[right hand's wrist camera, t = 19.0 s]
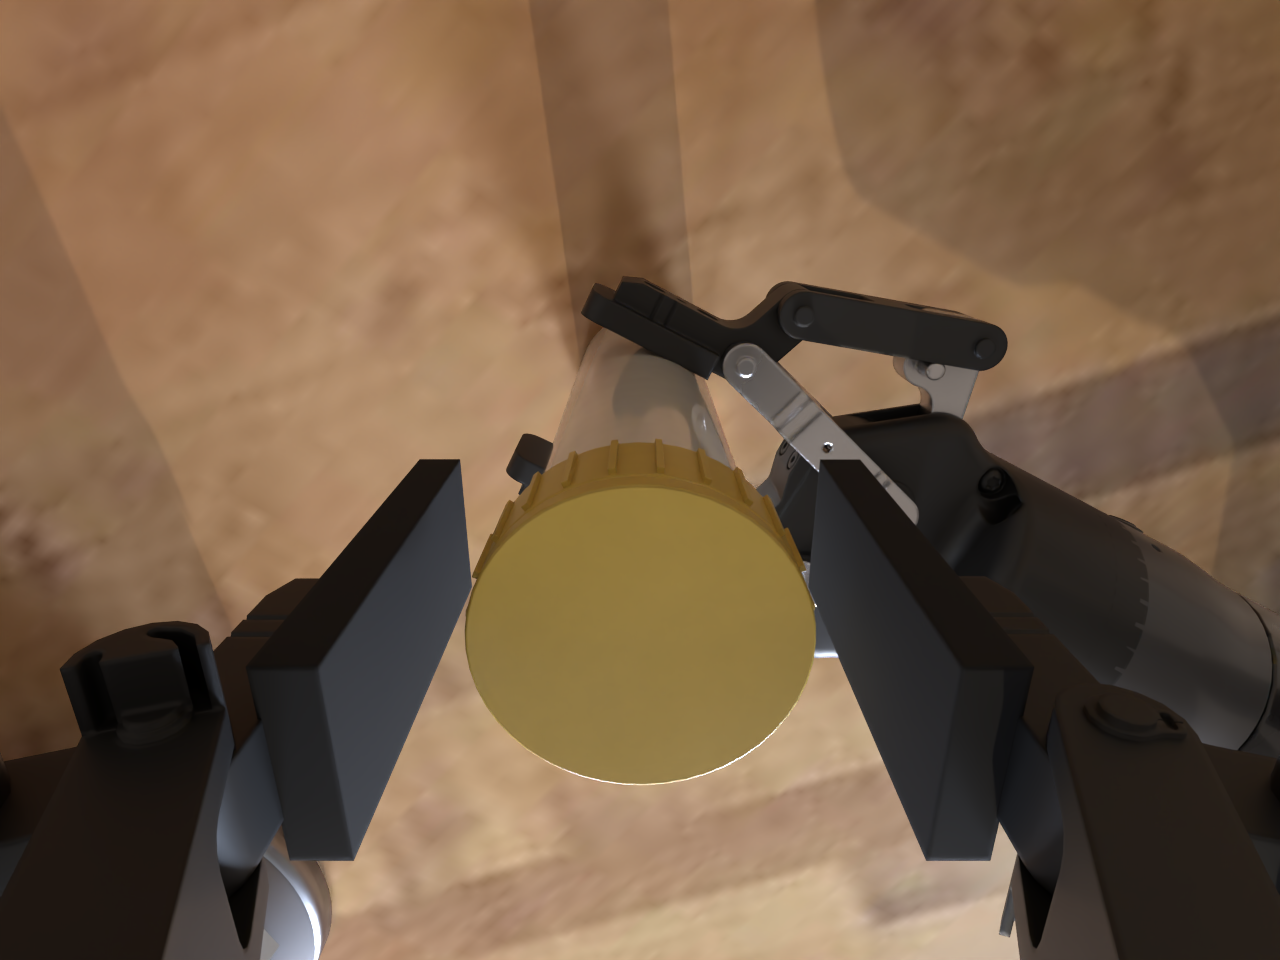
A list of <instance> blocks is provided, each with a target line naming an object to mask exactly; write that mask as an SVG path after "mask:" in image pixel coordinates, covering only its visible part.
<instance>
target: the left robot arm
mask: <svg viewBox="0 0 1280 960" xmlns="http://www.w3.org/2000/svg"><path fill="white" fill-rule="evenodd" d="M581 313H582V314H583V315H584V316H585V317H586V318H588V319H589V320H591V321H593V322H595V323H596V324H598V325H600V326H602V327H604V328H606V329H608V330H610V331H612V332H614V333H616V334H618V335H620V336H622V337H624V338H626V339H628V340H630V341H632V342H634V343H636V344H638V345H640V346H642V347H644V348H645V349H647V350H649V351H651V352H653V353H655V354H657V355H659V356H661V357H663V358H665V359H667V360H669V361H671V362H674V363H676V364H678V365H680V366H681V367H683V368H685V369H687V370H689V371H691V372H693V373H695V374H696V375H698V376H700V377H702V378H704V379H706V380H708V378H709V376H710V374H711V373H712V372H713V373H715V374H717V375H719V376H721V377H723V378H725V379H726V380H727V381H728V382H729V383H730V384H731V385H732V386H733V387H734V388H735V389H736V390H737V391H738V392H739V393H740V394H741V395H742V396H743V397H744V398H745V399H746V400H747V401H748V402H749V403H750V404H751V405H752V406H753V407H754V408H755V409H756V410H757V411H758V412H759V413H761V414H762V415H763V416H764V417H765V418H766V419H767V420H768V421H769V422H770V423H771V424H772V425H773V426H774V428H775V429H776V430H777V431H778V432H779V433H780V435H781V436H782V437H783V438H784V440H783V442H782V444H781V445H780V447H779V449H778V450H777V452H776V455H775V459H774V462H773V466H772V469H771V472H770V475H769V477H768V478H767V479H766V480H765V481H764V482H763V483H762V484H761V485H760V486H759V487H758V488H757V489H756V490H757V491H758V492H759V493H760V494H761V496H762V497H764V496H765V495H768V496H769V497H770V498H771V500H772V503H773V505H774V507H775V510H776V512H777V514H778V517H779V519H780V521H781V523H782V526H783V528H784V529H785V528H788V529H789V531H790V534H791V536H792V538H793V540H794V543H795V545H796V547H797V549H798V551H799V554H800V556H801V558H802V560H803V563H804V565H805V567H806V571H804V572H801V573H802V575H803V577H804V580H805V582H806V584H807V587H808V583H809V573H810V562H811V551H812V540H813V529H814V519H815V508H816V497H817V486H818V476H819V465H820V459H860V460H861V461H862V462H863V463H864V465H865V466H866V467H867V468H868V469H869V470H870V472H871V473H872V474H873V475H874V476H875V478H876V479H877V480H878V481H879V482H880V484H881V485H882V486H883V487H884V488H885V490H886V491H887V492H888V493H889V494H890V495H891V497H892V498H893V499H894V500H895V501H896V503H897V504H898V505H899V506H900V507H901V509H902V510H903V511H904V512H905V513H906V514H907V516H908V517H909V518H910V519H911V520H912V522H913V523H914V524H915V525H916V526H917V528H918V529H919V530H920V531H921V532H922V534H923V535H924V536H925V537H926V538H927V539H928V541H929V542H930V543H931V544H932V545H933V547H934V548H935V549H936V550H937V551H938V553H939V554H940V555H941V556H942V557H943V558H944V560H945V561H946V562H947V563H948V564H949V566H950V567H951V568H952V569H953V570H954V572H955V573H956V574H957V575H958V576H985V577H987V578H989V579H991V580H992V581H994V582H996V583H998V584H999V585H1001V586H1003V587H1005V588H1006V589H1008V590H1010V591H1012V592H1013V593H1015V594H1016V595H1017V596H1018V597H1019V598H1020V599H1021V600H1022V601H1023V603H1024V604H1025V605H1026V606H1027V607H1028V608H1029V609H1030V610H1031V611H1032V612H1033V613H1034V617H1038V618H1039V619H1040V620H1041V622H1042V623H1043V624H1044V625H1045V626H1046V627H1047V628H1048V629H1049V633H1050V634H1054V635H1055V636H1056V637H1057V638H1058V639H1059V641H1060V642H1061V643H1062V644H1063V645H1064V646H1065V647H1066V648H1067V649H1068V650H1069V651H1070V652H1071V653H1072V654H1073V655H1074V656H1075V657H1076V658H1077V660H1078V661H1079V662H1080V663H1081V664H1082V665H1083V666H1084V667H1085V668H1086V669H1087V670H1088V671H1089V672H1090V673H1091V674H1092V675H1093V676H1094V677H1095V679H1096V680H1097V681H1098V682H1099V683H1100V684H1108V685H1113V686H1117V687H1121V688H1124V689H1128V690H1132V691H1135V692H1138V693H1140V694H1143V695H1145V696H1147V697H1149V698H1151V699H1154V700H1156V701H1158V702H1160V703H1162V704H1164V705H1165V706H1167V707H1168V708H1170V709H1171V710H1173V711H1174V712H1175V713H1177V714H1178V715H1180V716H1181V717H1183V718H1184V719H1185V720H1186V721H1187V722H1188V724H1189V725H1190V726H1191V727H1192V729H1193V730H1194V731H1195V732H1196V734H1197V735H1198V736H1199V738H1200V740H1201V742H1202V743H1204V744H1208V745H1213V746H1218V747H1223V748H1228V749H1233V750H1238V751H1243V752H1248V753H1253V754H1258V755H1263V756H1268V757H1273V758H1278V756H1279V753H1280V615H1279V614H1277V613H1275V612H1273V611H1271V610H1269V609H1267V608H1265V607H1264V606H1262V605H1260V604H1258V603H1256V602H1254V601H1252V600H1250V599H1248V598H1246V597H1245V596H1243V595H1241V594H1239V593H1237V592H1235V591H1233V590H1231V589H1230V588H1228V587H1226V586H1225V585H1223V584H1221V583H1220V582H1218V581H1217V580H1215V579H1214V578H1213V577H1212V576H1210V575H1209V574H1208V573H1207V572H1205V571H1204V570H1203V569H1201V568H1200V567H1198V566H1197V565H1196V564H1194V563H1193V562H1191V561H1190V560H1189V559H1187V558H1186V557H1184V556H1183V555H1181V554H1180V553H1178V552H1176V551H1175V550H1173V549H1171V548H1170V547H1168V546H1166V545H1164V544H1162V543H1160V542H1158V541H1156V540H1154V539H1152V538H1151V537H1149V536H1147V535H1145V534H1143V531H1141V530H1140V529H1138V528H1137V527H1136V526H1135V525H1134V524H1132V523H1130V522H1128V521H1126V520H1123V519H1121V518H1118V517H1115V516H1112V515H1107V514H1105V513H1103V512H1102V511H1100V510H1098V509H1096V508H1094V507H1092V506H1090V505H1088V504H1086V503H1084V502H1083V501H1081V500H1079V499H1077V498H1075V497H1073V496H1071V495H1069V494H1067V493H1065V492H1063V491H1062V490H1060V489H1058V488H1056V487H1054V486H1052V485H1050V484H1048V483H1046V482H1045V481H1043V480H1041V479H1039V478H1037V477H1035V476H1033V475H1031V474H1029V473H1028V472H1026V471H1024V470H1022V469H1020V468H1018V467H1016V466H1014V465H1012V464H1011V463H1009V462H1007V461H1005V460H1003V459H1001V458H999V457H997V456H995V455H994V454H992V453H990V452H988V451H986V450H985V449H984V448H983V447H982V446H981V444H980V443H979V441H978V439H977V437H976V435H975V433H974V431H973V430H972V428H971V427H970V426H969V425H968V424H967V423H966V422H965V421H964V420H962V419H963V416H964V413H965V410H966V407H967V404H968V401H969V398H970V396H971V393H972V390H973V387H974V384H975V381H976V378H977V375H978V372H979V371H984V370H988V369H990V368H992V367H994V366H996V365H997V364H998V363H999V362H1000V361H1001V360H1002V358H1003V357H1004V355H1005V353H1006V350H1007V337H1006V335H1005V333H1004V331H1003V330H1002V329H1001V328H999V327H998V326H996V325H993V324H990V323H987V322H984V321H982V320H979V319H976V318H973V317H970V316H968V315H965V314H962V313H959V312H956V311H952V310H946V309H941V308H935V307H930V306H924V305H919V304H913V303H907V302H902V301H896V300H891V299H885V298H880V297H874V296H868V295H863V294H857V293H852V292H846V291H841V290H835V289H829V288H824V287H818V286H813V285H807V284H801V283H796V282H789V281H786V282H781V283H778V284H776V285H775V286H773V287H772V288H771V289H770V291H769V292H768V294H767V296H766V299H764V300H763V301H762V302H761V303H760V304H759V305H758V306H757V307H756V308H754V309H753V310H752V311H751V312H750V313H749V314H747V315H746V316H744V317H743V318H740V319H737V320H723V319H720V318H718V317H716V316H714V315H712V314H710V313H708V312H706V311H704V310H702V309H701V308H699V307H697V306H695V305H693V304H691V303H689V302H687V301H685V300H683V299H682V298H680V297H678V296H676V295H674V294H672V293H670V292H668V291H666V290H664V289H662V288H660V287H659V286H657V285H655V284H653V283H651V282H649V281H647V280H645V279H644V278H637V277H626V276H623V278H622V280H621V282H620V284H619V286H618V288H617V290H616V291H614V290H612V289H610V288H608V287H606V286H604V285H601V284H598V283H595V284H594V286H593V288H592V290H591V292H590V295H589V297H588V299H587V301H586V303H585V305H584V307H583V309H582V311H581ZM802 340H805V341H810V342H816V343H822V344H827V345H833V346H839V347H845V348H850V349H856V350H862V351H868V352H873V353H879V354H885V355H890V356H893V366H894V369H895V371H896V372H897V373H898V375H900V376H901V377H902V378H904V379H905V380H907V381H908V382H910V383H911V384H913V385H915V386H918V388H919V390H920V393H921V402H920V404H913V405H906V406H900V407H893V408H887V409H880V410H873V411H867V412H860V413H853V414H846V415H840V416H832V415H831V414H830V413H829V412H828V411H827V410H826V409H825V408H824V407H823V406H822V405H821V404H820V403H819V402H818V401H817V400H816V399H815V398H814V397H813V396H812V395H811V394H810V393H809V392H808V391H807V390H806V389H805V388H804V387H803V386H802V385H801V384H800V383H799V382H798V381H797V380H796V379H795V378H794V377H793V376H792V375H791V374H789V373H788V372H787V371H786V370H785V369H784V368H783V367H782V366H781V365H780V364H779V363H778V361H779V360H780V359H781V358H783V357H784V356H785V355H786V354H787V353H788V352H789V351H791V350H792V349H793V348H794V347H795V346H796V345H797V344H799V343H800V342H801V341H802ZM552 444H553V443H551V442H549V441H547V440H545V439H542V438H540V437H538V436H535V435H532V434H523V435H522V437H521V439H520V441H519V443H518V445H517V447H516V450H515V452H514V454H513V456H512V458H511V460H510V462H509V464H508V466H507V469H506V472H507V473H508V475H509V476H510V477H512V478H513V479H514V480H516V481H518V482H520V483H522V486H521V489H520V491H519V493H518V494H519V495H520V494H521V493H522V492H523V491H524V490H525V489H526V488H527V487H528V486H529V485H530V483H531V480H532V477H533V475H534V474H535V473H537V472H539V473H540V474H541V475H542V472H543V469H544V467H545V464H546V461H547V458H548V455H549V453H550V450H551V447H552ZM808 590H809V588H808ZM809 592H810V590H809ZM810 594H811V592H810ZM811 597H812V595H811ZM812 599H813V597H812ZM813 601H814V599H813ZM814 604H815V602H814ZM814 615H815V621H816V646H815V653H814V658H826V657H834V658H839V657H838V655H837V653H836V650H835V648H834V646H833V643H832V641H831V639H830V636H829V634H828V632H827V629H826V627H825V625H824V623H823V620H822V618H821V616H820V613H819V611H818V609H817V606H816V604H815V610H814Z"/></svg>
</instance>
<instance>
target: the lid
mask: <svg viewBox="0 0 1280 960" xmlns="http://www.w3.org/2000/svg"><path fill="white" fill-rule="evenodd" d="M804 571H806V567H805V565H804V563H803V560H802V558H801V556H800V554H799V551H798V549H797V547H796V545H795V543H794V540H793V538H792V536H791V534H790V531H789V529H788V528H785V529H784V528H783V526H782V523H781V521H780V519H779V517H778V514H777V512H776V510H775V507H774V505H773V503H772V500H771V498H770V497H769V496H768V495H765V496H764V497H762V496H761V494H760V493H759V492H758V491H757V490H756V489H755V488H754V487H753V486H752V485H751V484H750V483H749V482H748V481H746V480H745V478H744V475H743V473H742V470H740V469H739V468H738V467H736V468H735V469H734V470H732V469H730V468H729V467H727V466H725V465H724V464H722V463H721V462H719V461H717V460H715V459H712V458H710V457H708V456H706V453H705V450H703V449H701V448H698V450H697V452H695V451H692V450H689V449H685V448H682V447H678V446H672V445H666V444H663V442H662V439H655V443H643V442H634V443H622V444H619V443H618V440H611V445H609V446H604V447H599V448H595V449H592V450H589V451H586V452H583V453H580V454H577V453H576V451H573V452H570V453H569V456H568V459H567V460H565V461H563V462H561V463H559V464H557V465H555V466H554V467H552V468H551V469H549V470H548V471H546V472H545V473H543V474H542V475H541V474H540V473H539V472H537V473H535V474H534V475H533V477H532V480H531V483H530V485H529V486H528V487H527V488H526V489H525V490H524V491H523V492H522V493H521V494H520V496H519V497H518V498H517V499H516V500H515V502H512V501H510V500H509V501H508V502H507V504H506V506H505V508H504V510H503V512H502V515H501V517H500V519H499V522H498V524H497V526H496V528H495V531H494V533H493V534H490V536H489V539H488V541H487V543H486V545H485V548H484V550H483V552H482V554H481V557H480V559H479V561H478V563H477V566H476V568H475V570H474V573H473V575H472V577H473V578H476V579H477V580H476V583H475V585H474V587H473V590H472V593H471V597H470V600H469V604H468V607H467V609H466V623H465V645H466V654H467V659H468V663H469V668H470V671H471V674H472V677H473V680H474V683H475V685H476V688H477V690H478V692H479V694H480V696H481V698H482V699H483V701H484V703H485V705H486V707H487V708H488V709H489V711H490V712H491V714H492V715H493V716H494V718H495V719H496V720H497V722H498V723H499V724H500V725H501V726H502V727H503V728H504V729H505V730H506V731H507V732H508V733H509V735H510V736H511V737H513V738H514V739H515V740H516V741H517V742H519V743H520V744H521V745H522V746H524V747H525V748H526V749H527V750H529V751H530V752H532V753H533V754H535V755H537V756H538V757H540V758H541V759H543V760H544V761H547V762H549V763H551V764H553V765H555V766H557V767H559V768H561V769H563V770H566V771H568V772H571V773H574V774H577V775H579V776H582V777H586V778H590V779H595V780H599V781H603V782H610V783H617V784H630V785H651V784H665V783H671V782H677V781H682V780H687V779H691V778H694V777H698V776H701V775H705V774H708V773H710V772H713V771H715V770H717V769H720V768H722V767H725V766H727V765H729V764H730V763H732V762H734V761H736V760H738V759H740V758H741V757H743V756H745V755H746V754H748V753H749V752H750V751H752V750H753V749H755V748H756V747H758V746H759V745H760V744H761V743H763V742H764V741H765V740H766V739H767V738H768V737H769V736H770V735H771V734H773V733H774V732H775V731H776V729H777V728H778V727H779V726H780V725H781V724H782V723H783V721H784V720H785V719H786V718H787V717H788V715H789V714H790V712H791V711H792V709H793V708H794V706H795V705H796V703H797V702H798V700H799V698H800V696H801V694H802V692H803V689H804V687H805V685H806V683H807V680H808V677H809V674H810V671H811V667H812V664H813V659H814V653H815V646H816V621H815V615H814V610H815V604H814V601H813V599H812V597H811V594H810V592H809V590H808V587H807V584H806V582H805V580H804V577H803V575H802V573H801V572H804Z"/></svg>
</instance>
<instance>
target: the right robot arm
mask: <svg viewBox="0 0 1280 960" xmlns="http://www.w3.org/2000/svg"><path fill="white" fill-rule="evenodd" d="M471 588H472V583H471V572H470V562H469V551H468V540H467V529H466V519H465V508H464V497H463V486H462V475H461V465H460V459H420V460H419V461H418V462H417V463H416V465H415V466H414V467H413V468H412V469H411V471H410V472H409V473H408V474H407V475H406V476H405V478H404V479H403V480H402V481H401V482H400V484H399V485H398V486H397V487H396V488H395V490H394V491H393V492H392V493H391V494H390V495H389V497H388V498H387V499H386V500H385V501H384V503H383V504H382V505H381V506H380V507H379V509H378V510H377V511H376V512H375V513H374V514H373V516H372V517H371V518H370V519H369V520H368V522H367V523H366V524H365V525H364V526H363V528H362V529H361V530H360V531H359V532H358V534H357V535H356V536H355V537H354V538H353V539H352V541H351V542H350V543H349V544H348V545H347V547H346V548H345V549H344V550H343V551H342V553H341V554H340V555H339V556H338V557H337V558H336V560H335V561H334V562H333V563H332V564H331V566H330V567H329V568H328V569H327V570H326V572H325V573H324V574H323V575H322V576H321V577H320V579H294V580H292V581H291V582H289V583H287V584H285V585H284V586H282V587H280V588H278V589H277V590H275V591H273V592H271V593H270V594H268V595H266V596H265V597H264V598H263V599H262V600H261V601H260V602H259V604H258V605H257V606H256V607H255V608H254V609H253V610H252V611H251V612H250V613H249V614H248V615H247V620H243V621H242V622H241V623H240V624H239V625H238V626H237V627H236V628H235V629H234V630H233V631H232V632H231V637H227V638H226V639H225V640H224V641H223V642H222V643H221V644H220V645H219V646H218V647H217V648H216V649H215V650H214V651H213V648H212V644H211V640H210V636H209V632H208V631H207V630H205V629H204V628H202V627H201V626H199V625H198V624H193V623H187V622H180V621H172V622H158V623H150V624H146V625H142V626H137V627H133V628H129V629H125V630H122V631H120V632H117V633H114V634H112V635H109V636H107V637H104V638H102V639H99V640H97V641H95V642H93V643H92V644H90V645H88V646H87V647H85V648H83V649H82V650H80V651H78V652H77V653H75V654H74V655H73V656H72V657H71V658H70V659H69V660H68V661H67V662H66V663H65V664H64V665H63V666H62V667H61V668H60V671H61V674H62V677H63V680H64V683H65V686H66V689H67V692H68V695H69V698H70V701H71V704H72V707H73V710H74V713H75V716H76V719H77V722H78V725H79V728H80V731H81V734H82V738H81V740H80V742H79V744H78V746H77V747H73V748H69V749H64V750H59V751H54V752H49V753H44V754H39V755H34V756H29V757H24V758H19V759H15V760H10V761H5V762H4V761H3V758H2V756H1V753H0V960H318V959H319V957H320V955H321V952H322V950H323V948H324V945H325V943H326V940H327V937H328V935H329V931H330V926H331V919H332V906H331V898H330V893H329V889H328V886H327V883H326V880H325V877H324V875H323V873H322V871H321V869H320V867H319V865H318V864H317V862H316V861H354V859H355V856H356V854H357V852H358V849H359V847H360V845H361V842H362V840H363V838H364V836H365V833H366V831H367V829H368V826H369V824H370V822H371V819H372V817H373V815H374V812H375V810H376V808H377V805H378V803H379V801H380V799H381V796H382V794H383V792H384V789H385V787H386V785H387V782H388V780H389V778H390V775H391V773H392V771H393V768H394V766H395V764H396V761H397V759H398V757H399V755H400V752H401V750H402V748H403V745H404V743H405V741H406V738H407V736H408V734H409V731H410V729H411V727H412V724H413V722H414V720H415V717H416V715H417V713H418V711H419V708H420V706H421V704H422V701H423V699H424V697H425V694H426V692H427V690H428V687H429V685H430V683H431V680H432V678H433V676H434V673H435V671H436V669H437V667H438V664H439V662H440V660H441V657H442V655H443V653H444V650H445V648H446V646H447V643H448V641H449V639H450V636H451V634H452V632H453V629H454V627H455V625H456V623H457V620H458V618H459V616H460V613H461V611H462V609H463V606H464V604H465V602H466V599H467V597H468V595H469V592H470V590H471ZM808 588H809V590H810V592H811V595H812V597H813V599H814V602H815V604H816V606H817V609H818V611H819V613H820V616H821V618H822V620H823V623H824V625H825V627H826V629H827V632H828V634H829V636H830V639H831V641H832V643H833V646H834V648H835V650H836V653H837V655H838V657H839V660H840V662H841V664H842V667H843V669H844V671H845V673H846V676H847V678H848V680H849V683H850V685H851V687H852V690H853V692H854V694H855V697H856V699H857V701H858V704H859V706H860V708H861V711H862V713H863V715H864V717H865V720H866V722H867V724H868V727H869V729H870V731H871V734H872V736H873V738H874V741H875V743H876V745H877V748H878V750H879V752H880V754H881V757H882V759H883V761H884V764H885V766H886V768H887V771H888V773H889V775H890V778H891V780H892V782H893V785H894V787H895V789H896V792H897V794H898V796H899V798H900V801H901V803H902V805H903V808H904V810H905V812H906V815H907V817H908V819H909V822H910V824H911V826H912V829H913V831H914V833H915V836H916V838H917V840H918V842H919V845H920V847H921V849H922V852H923V854H924V856H925V859H926V861H990V860H991V855H992V851H993V847H994V842H995V838H996V834H997V829H998V825H999V822H1000V824H1001V825H1002V827H1003V829H1004V830H1005V832H1006V834H1007V836H1008V837H1009V839H1010V841H1011V843H1012V844H1013V846H1014V848H1015V850H1016V851H1017V857H1016V861H1015V866H1014V870H1013V874H1012V878H1011V882H1010V886H1009V890H1008V894H1007V898H1006V902H1005V906H1004V911H1003V915H1002V919H1001V925H1000V932H999V934H1000V935H1003V936H1007V937H1010V934H1011V930H1012V926H1013V922H1014V921H1015V922H1016V930H1017V938H1018V946H1019V954H1020V960H1280V753H1279V756H1278V758H1273V757H1268V756H1263V755H1258V754H1253V753H1248V752H1243V751H1238V750H1233V749H1228V748H1223V747H1218V746H1213V745H1208V744H1204V743H1202V742H1201V740H1200V738H1199V736H1198V735H1197V734H1196V732H1195V731H1194V730H1193V729H1192V727H1191V726H1190V725H1189V724H1188V722H1187V721H1186V720H1185V719H1184V718H1183V717H1181V716H1180V715H1178V714H1177V713H1175V712H1174V711H1173V710H1171V709H1170V708H1168V707H1167V706H1165V705H1164V704H1162V703H1160V702H1158V701H1156V700H1154V699H1151V698H1149V697H1147V696H1145V695H1143V694H1140V693H1138V692H1135V691H1132V690H1128V689H1124V688H1121V687H1117V686H1113V685H1108V684H1100V683H1099V682H1098V681H1097V680H1096V679H1095V677H1094V676H1093V675H1092V674H1091V673H1090V672H1089V671H1088V670H1087V669H1086V668H1085V667H1084V666H1083V665H1082V664H1081V663H1080V662H1079V661H1078V660H1077V658H1076V657H1075V656H1074V655H1073V654H1072V653H1071V652H1070V651H1069V650H1068V649H1067V648H1066V647H1065V646H1064V645H1063V644H1062V643H1061V642H1060V641H1059V639H1058V638H1057V637H1056V636H1055V635H1054V634H1050V633H1049V629H1048V628H1047V627H1046V626H1045V625H1044V624H1043V623H1042V622H1041V620H1040V619H1039V618H1038V617H1034V613H1033V612H1032V611H1031V610H1030V609H1029V608H1028V607H1027V606H1026V605H1025V604H1024V603H1023V601H1022V600H1021V599H1020V598H1019V597H1018V596H1017V595H1016V594H1015V593H1013V592H1012V591H1010V590H1008V589H1006V588H1005V587H1003V586H1001V585H999V584H998V583H996V582H994V581H992V580H991V579H989V578H987V577H985V576H958V575H957V574H956V573H955V572H954V570H953V569H952V568H951V567H950V566H949V564H948V563H947V562H946V561H945V560H944V558H943V557H942V556H941V555H940V554H939V553H938V551H937V550H936V549H935V548H934V547H933V545H932V544H931V543H930V542H929V541H928V539H927V538H926V537H925V536H924V535H923V534H922V532H921V531H920V530H919V529H918V528H917V526H916V525H915V524H914V523H913V522H912V520H911V519H910V518H909V517H908V516H907V514H906V513H905V512H904V511H903V510H902V509H901V507H900V506H899V505H898V504H897V503H896V501H895V500H894V499H893V498H892V497H891V495H890V494H889V493H888V492H887V491H886V490H885V488H884V487H883V486H882V485H881V484H880V482H879V481H878V480H877V479H876V478H875V476H874V475H873V474H872V473H871V472H870V470H869V469H868V468H867V467H866V466H865V465H864V463H863V462H862V461H861V460H860V459H820V465H819V476H818V486H817V497H816V508H815V519H814V529H813V540H812V551H811V562H810V573H809V583H808Z"/></svg>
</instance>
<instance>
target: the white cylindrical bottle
mask: <svg viewBox="0 0 1280 960" xmlns="http://www.w3.org/2000/svg"><path fill="white" fill-rule="evenodd" d="M655 439H662V442H663V444H666V445H672V446H678V447H682V448H685V449H689V450H692V451H695V452H697V450H698V448H701V449H703V450H705V453H706V456H708V457H710V458H712V459H715V460H717V461H719V462H721V463H722V464H724V465H725V466H727V467H729V468H730V469H732V470H734V469H735V468H736V465H735V462H734V459H733V457H732V454H731V451H730V448H729V445H728V443H727V440H726V437H725V434H724V431H723V429H722V426H721V423H720V420H719V417H718V415H717V412H716V409H715V406H714V403H713V401H712V398H711V395H710V392H709V389H708V387H707V384H706V381H705V379H704V378H702V377H700V376H698V375H696V374H695V373H693V372H691V371H689V370H687V369H685V368H683V367H681V366H680V365H678V364H676V363H674V362H671V361H669V360H667V359H665V358H663V357H661V356H659V355H657V354H655V353H653V352H651V351H649V350H647V349H645V348H644V347H642V346H640V345H638V344H636V343H634V342H632V341H630V340H628V339H626V338H624V337H622V336H620V335H618V334H616V333H614V332H612V331H610V330H608V329H606V328H604V327H603V328H602V329H601V330H600V331H599V332H598V333H597V334H596V335H595V336H594V338H593V339H592V340H591V342H590V344H589V345H588V347H587V349H586V352H585V354H584V357H583V360H582V363H581V366H580V368H579V371H578V374H577V377H576V380H575V382H574V385H573V388H572V391H571V394H570V396H569V399H568V402H567V405H566V408H565V410H564V413H563V416H562V419H561V422H560V424H559V427H558V430H557V433H556V436H555V438H554V441H553V444H552V447H551V450H550V453H549V455H548V458H547V461H546V464H545V467H544V469H543V472H542V474H543V473H545V472H546V471H548V470H549V469H551V468H552V467H554V466H555V465H557V464H559V463H561V462H563V461H565V460H567V459H568V456H569V453H570V452H573V451H576V453H577V454H580V453H583V452H586V451H589V450H592V449H595V448H599V447H604V446H609V445H611V440H618V443H619V444H622V443H634V442H643V443H655Z"/></svg>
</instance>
